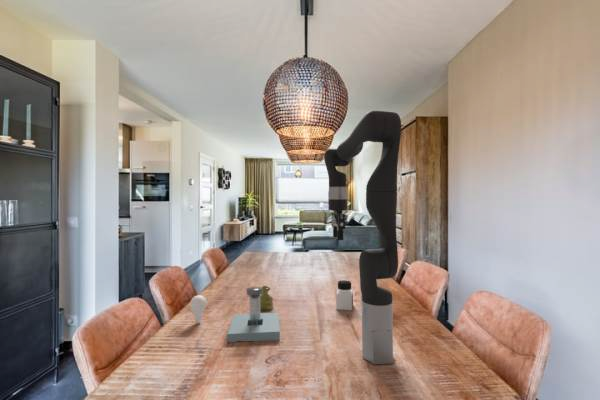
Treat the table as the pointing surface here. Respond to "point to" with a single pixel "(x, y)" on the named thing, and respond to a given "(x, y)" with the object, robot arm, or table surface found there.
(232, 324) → the socket board
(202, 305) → the lightbulb
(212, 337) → the table surface
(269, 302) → the brass weight
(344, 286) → the medicine bottle
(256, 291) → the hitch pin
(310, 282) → the table surface
